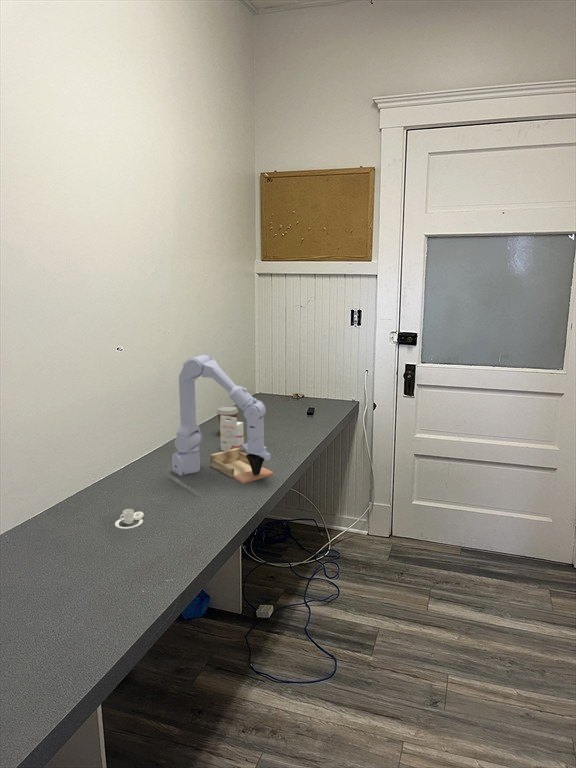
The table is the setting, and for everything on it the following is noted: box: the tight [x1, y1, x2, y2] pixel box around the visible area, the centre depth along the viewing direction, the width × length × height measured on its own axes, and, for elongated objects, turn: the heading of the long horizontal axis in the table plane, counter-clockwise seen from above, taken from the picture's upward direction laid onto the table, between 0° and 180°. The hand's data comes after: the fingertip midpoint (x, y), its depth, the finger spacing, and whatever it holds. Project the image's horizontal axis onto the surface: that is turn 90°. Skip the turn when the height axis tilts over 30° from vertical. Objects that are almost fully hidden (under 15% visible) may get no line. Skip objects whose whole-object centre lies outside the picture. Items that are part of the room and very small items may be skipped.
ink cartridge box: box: [219, 415, 245, 452], centre depth 227 cm, size 9×5×15 cm, turn 62°
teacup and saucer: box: [114, 508, 145, 530], centre depth 166 cm, size 9×8×4 cm
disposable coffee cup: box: [216, 405, 239, 425], centre depth 248 cm, size 10×10×12 cm
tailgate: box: [233, 467, 274, 484], centre depth 197 cm, size 13×2×6 cm
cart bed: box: [209, 447, 263, 478], centre depth 205 cm, size 13×14×6 cm
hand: (256, 474), depth 195 cm, fingers closed
